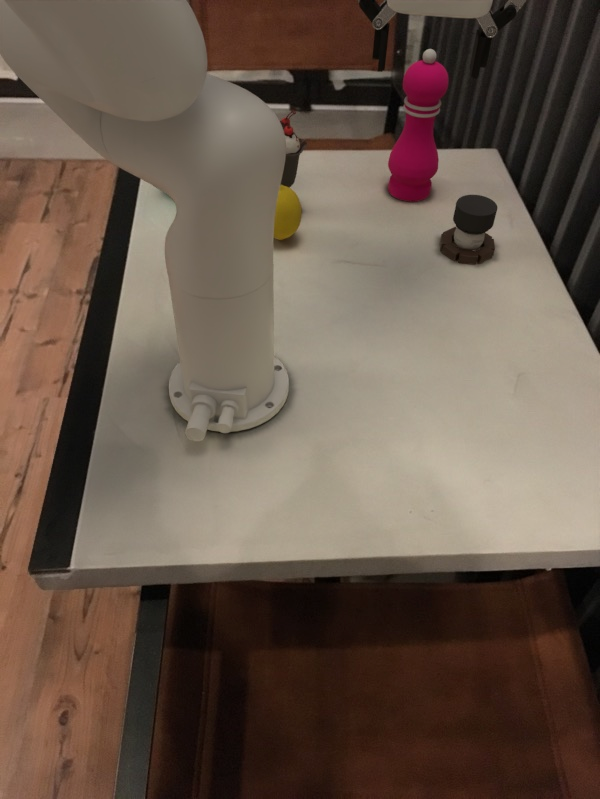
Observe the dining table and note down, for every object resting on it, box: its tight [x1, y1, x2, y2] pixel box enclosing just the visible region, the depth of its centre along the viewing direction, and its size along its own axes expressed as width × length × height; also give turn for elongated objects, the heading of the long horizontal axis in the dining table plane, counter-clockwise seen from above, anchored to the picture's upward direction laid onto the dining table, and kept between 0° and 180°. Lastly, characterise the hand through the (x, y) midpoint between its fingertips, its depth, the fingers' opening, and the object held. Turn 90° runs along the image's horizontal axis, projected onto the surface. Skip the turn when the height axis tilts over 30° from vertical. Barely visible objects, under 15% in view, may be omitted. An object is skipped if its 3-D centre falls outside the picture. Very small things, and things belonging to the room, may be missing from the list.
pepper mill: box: [387, 48, 449, 203], centre depth 95 cm, size 7×7×20 cm
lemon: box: [273, 185, 303, 241], centre depth 90 cm, size 6×6×8 cm
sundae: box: [279, 109, 308, 188], centre depth 92 cm, size 7×7×15 cm
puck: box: [452, 194, 498, 235], centre depth 88 cm, size 5×5×3 cm
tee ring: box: [439, 226, 496, 265], centre depth 92 cm, size 7×7×1 cm
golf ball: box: [454, 227, 486, 251], centre depth 91 cm, size 4×4×4 cm
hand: (427, 70), depth 72 cm, fingers open, 9 cm apart
